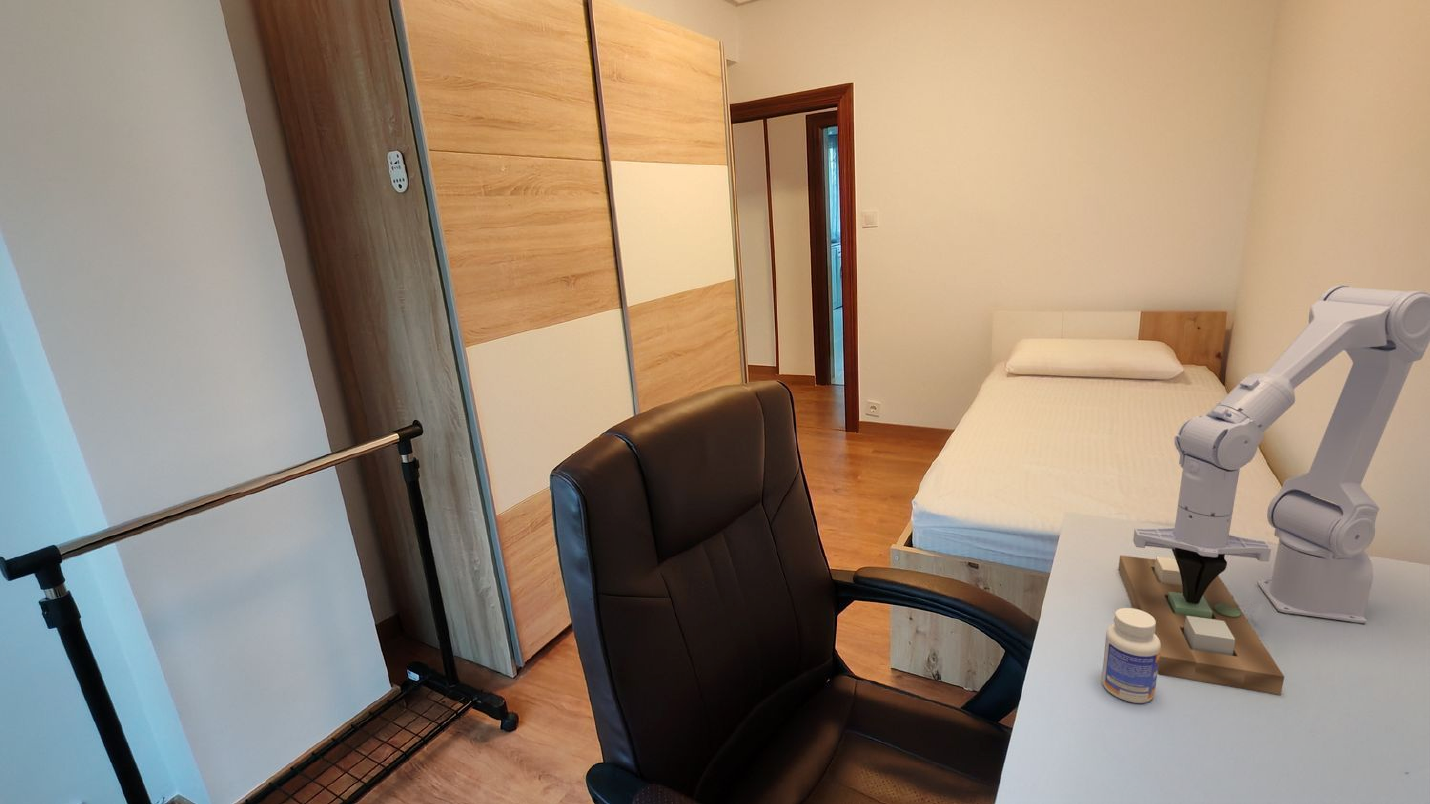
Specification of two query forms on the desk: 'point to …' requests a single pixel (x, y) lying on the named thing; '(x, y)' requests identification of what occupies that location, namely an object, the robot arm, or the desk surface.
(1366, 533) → the robot arm
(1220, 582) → the brown wooden slotted board
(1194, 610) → the sage button
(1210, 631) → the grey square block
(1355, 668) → the desk surface
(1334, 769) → the desk surface
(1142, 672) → the pill bottle
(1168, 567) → the cream button
